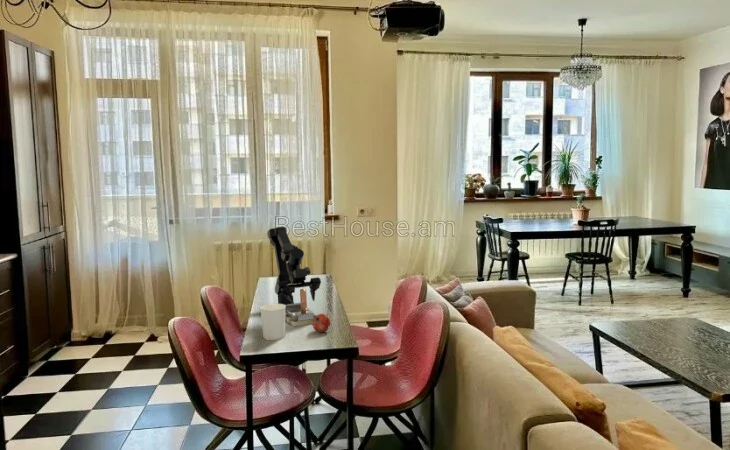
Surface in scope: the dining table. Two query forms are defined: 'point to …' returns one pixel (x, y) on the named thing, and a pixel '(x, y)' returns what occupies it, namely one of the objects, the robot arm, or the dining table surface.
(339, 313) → the dining table surface
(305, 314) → the press jaw
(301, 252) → the robot arm
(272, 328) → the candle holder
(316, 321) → the pomegranate
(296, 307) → the press frame
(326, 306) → the dining table surface
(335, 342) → the dining table surface
